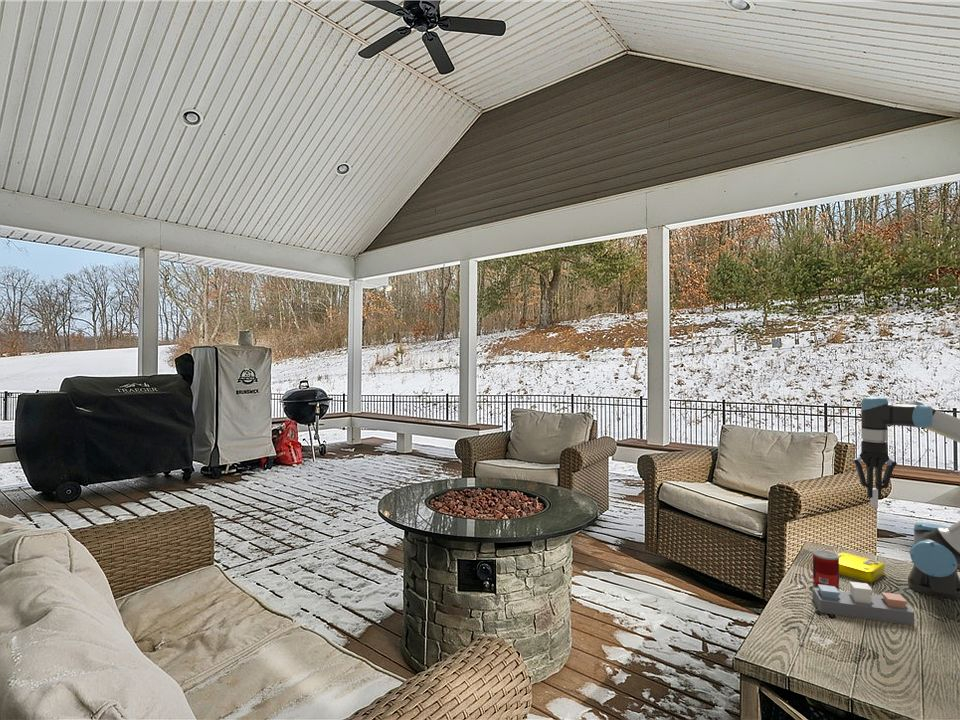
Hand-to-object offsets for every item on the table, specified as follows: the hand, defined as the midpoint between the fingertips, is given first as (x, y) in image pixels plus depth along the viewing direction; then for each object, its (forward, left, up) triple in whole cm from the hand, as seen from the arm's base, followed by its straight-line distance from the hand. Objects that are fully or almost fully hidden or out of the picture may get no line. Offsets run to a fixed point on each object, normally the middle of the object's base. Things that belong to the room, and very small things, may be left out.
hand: (874, 506), depth 188 cm
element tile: (+1, -16, -30) cm, 34 cm away
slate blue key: (+19, +21, -28) cm, 40 cm away
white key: (+10, +21, -26) cm, 35 cm away
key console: (+10, +21, -29) cm, 37 cm away
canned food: (+15, +1, -30) cm, 33 cm away
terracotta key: (+1, +21, -28) cm, 35 cm away
